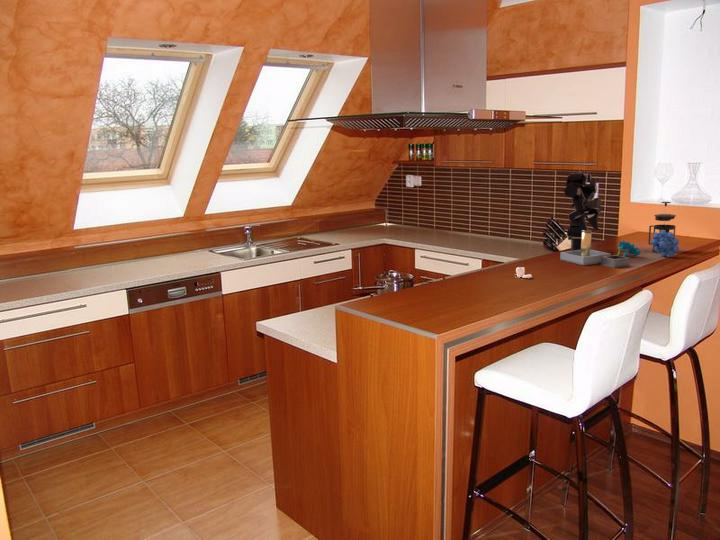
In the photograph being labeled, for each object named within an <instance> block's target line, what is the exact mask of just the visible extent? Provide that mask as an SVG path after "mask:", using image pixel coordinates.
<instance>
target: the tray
mask: <svg viewBox="0 0 720 540" xmlns="http://www.w3.org/2000/svg"><path fill="white" fill-rule="evenodd" d="M559 253H560V255H559V256H560V258H559V259H560V261H563V262H568V263H573V264H575V265H580V266H589V265H596V264H601V257H604V256H612V253H610V252H609V253H608V252H604V251H599V250H594V249H591V252H590V256H586V257H582V256H581V250H575V251H571V250H568V251H560V252H559Z"/></svg>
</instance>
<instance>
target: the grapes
mask: <svg viewBox="0 0 720 540" xmlns="http://www.w3.org/2000/svg"><path fill="white" fill-rule="evenodd" d="M653 233H654V232H653ZM654 238H655V239H653V238H652V239H651V240H650V243H652V244H653V245H655V247H654V250H655V251H656V252H660V253H659V254H660V256H661V257H664V258H666V257H667V256H668V257H670V258H673V257H675V253H678V252H679V251H680V247H679V244H680V241H679V239H678V238H676V237H675V238H674V232H670V231H669V232H668V233H667V232H666V231H665V230H661V231H660V234H659V232H656V231H655V233H654ZM653 245H652V246H653ZM656 252H655V253H656Z"/></svg>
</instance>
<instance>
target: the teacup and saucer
mask: <svg viewBox="0 0 720 540" xmlns="http://www.w3.org/2000/svg"><path fill="white" fill-rule="evenodd" d="M525 270H526V269H525V267H522V266H518V267H516V269H515V273H516V275H517V278H520V277H522V278H528V279H531V278H533V275H532V274H531V273H530V274H525Z"/></svg>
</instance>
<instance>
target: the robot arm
mask: <svg viewBox="0 0 720 540" xmlns="http://www.w3.org/2000/svg"><path fill="white" fill-rule="evenodd" d="M565 182H566V183H565V185H564V186H565V188H564V190H563V191H564V195H565V196H566V197H567V198H569V199H570V201H571V203H572V204H571V207H572V208H574V211H572V212H569V213H568V215H567V218H568V220H569V221H570V224H569V227H567V239H568V241H570V251H575V250H581V237H582V230H589V229H588V227H587V222H588V223H589V224H590V225H591V227H592V228H593V229H594V230H595V231H596V232H597V231H599V222H598V221H599V220H598V219H599V216H601V213H602V210H601V209H600V208H601V205H602V204H603V201H602V200H601V198H599V197H598V198H595V196H596V194H597V192H598V186H597V181H596V180H595V179H594V178H593V177H592V173H585V172H570V173H569V174H568V175H567V177H566V181H565ZM587 182H588V183H587Z"/></svg>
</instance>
